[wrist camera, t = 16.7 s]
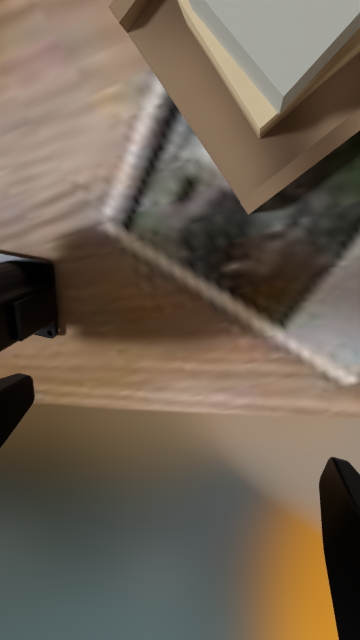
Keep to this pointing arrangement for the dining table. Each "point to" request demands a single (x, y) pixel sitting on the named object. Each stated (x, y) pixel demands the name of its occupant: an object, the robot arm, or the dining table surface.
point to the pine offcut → (242, 87)
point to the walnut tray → (226, 116)
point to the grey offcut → (280, 39)
